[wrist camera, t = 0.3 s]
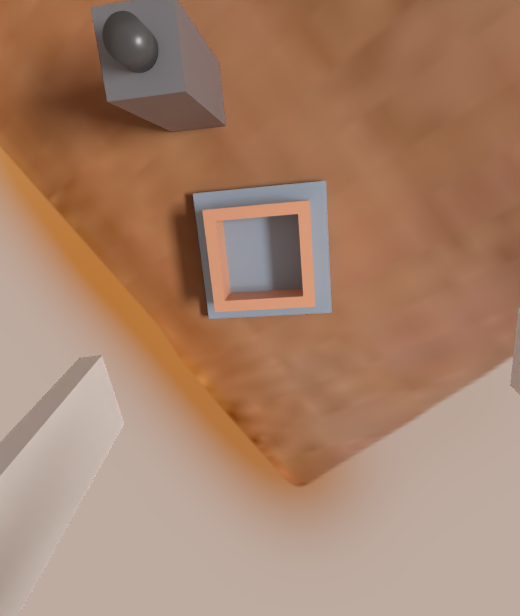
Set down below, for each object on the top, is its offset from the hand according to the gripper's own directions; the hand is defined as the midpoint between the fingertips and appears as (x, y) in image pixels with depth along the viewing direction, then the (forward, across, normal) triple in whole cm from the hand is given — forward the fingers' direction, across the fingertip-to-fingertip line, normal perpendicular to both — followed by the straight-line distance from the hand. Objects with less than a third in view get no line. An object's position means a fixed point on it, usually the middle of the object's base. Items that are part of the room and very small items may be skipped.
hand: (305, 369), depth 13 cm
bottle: (+28, -6, +12) cm, 31 cm away
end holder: (+26, -2, -2) cm, 26 cm away
